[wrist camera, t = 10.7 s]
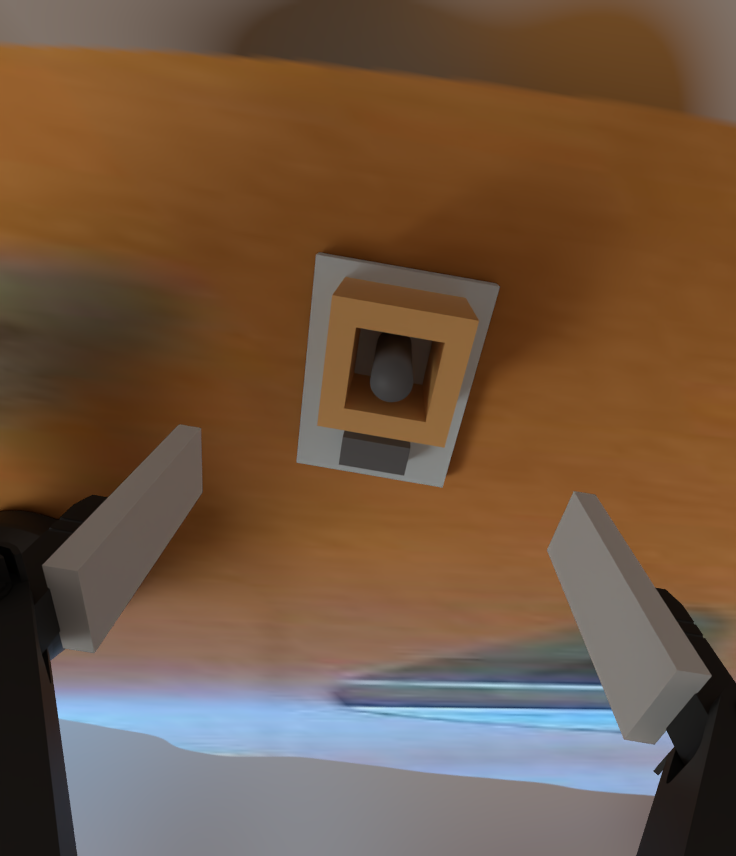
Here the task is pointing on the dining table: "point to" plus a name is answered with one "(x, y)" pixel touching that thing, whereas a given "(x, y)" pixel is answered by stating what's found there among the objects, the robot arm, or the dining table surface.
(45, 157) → the dining table surface
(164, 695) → the dining table surface
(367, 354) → the keeper board
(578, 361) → the dining table surface
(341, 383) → the link
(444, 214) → the dining table surface
